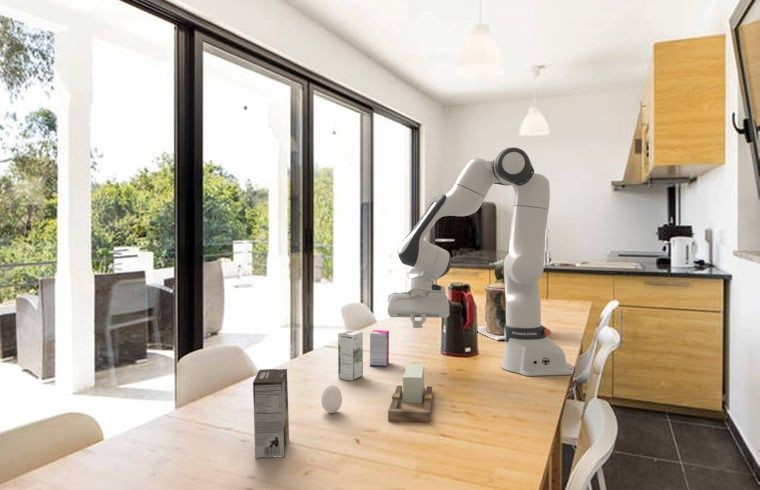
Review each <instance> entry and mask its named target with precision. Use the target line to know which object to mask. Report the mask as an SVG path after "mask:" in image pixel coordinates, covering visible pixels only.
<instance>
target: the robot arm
mask: <svg viewBox="0 0 760 490" xmlns="http://www.w3.org/2000/svg"><path fill="white" fill-rule="evenodd" d="M493 185H500V186H512V187H513V190H514V199H513V200H514V201H513V206H512V212H511V213H512V214H511V222H510V229H509V232H510V233H509V249H508V254H506V256H505V257H504V261H503V263H504V282H505V298H506V324H505V328H504V341H505V343H504V351H503V352H504V353H503V357H502V362H501V365H500V366H501V368H502V369H504V370H505V371H509V372H512V373H516V374H520V375H523V376H525V377H526V376H527V377H531V376H532V377H533V376H534V377H537V376H538V377H539V376H561V375H562V376H567V375H573V374H574V373H575V369H574V367H573V365H572V364H571V363H570V362H568V361H567V358H566V355H565V352H564V350H563V349H562V347H561V346H559V345H558V344H557V343H556V342H554V341H553V340H551V338H549V337H548V336H550V335H551V334H552V331H551V330H550V329H549V328H547V327H545V326H544V325H542V323H541V322H542V317H541V315H542V313H541V311H542V309H541V308H542V307H541V306H542V303H541V302H542V301H541V296H540V287H539V281H540V280H541V278H542V277H543V274H544V268H545V251H546V231H547V226H548V225H547V224H548V216H549V209H550V200H551V198H550V197H551V194H550V193H551V189H550V181H549V178H547V177H546V176H545V175H542V174H540V173H535V169H534V167H533V164H532V162H531V160H530V157H529V156H528V154H527V153H526V152H525V151H524V150H523V149H521V148H519V147H507V148H505V149H503V150H501V151H500V152H499V153H498V154H497V156H495V158H494V159H493V160H486V159H483V158H481V157H480V158H479V157H478V158H477V157H476V158H472V159H470V160H469V161H468V162H467V164H466V165H465V166H464V167H463V169H462V171H461V172H460V174H459V175H458V177H457V178H456V181H455V182H454V184H453V186H452V187H451V189H449V191H447V192H446V193H445V194H440V195H437V197H436V198H435V199H434V200H433V201H432V202H431V203H430V205H429V206H428V208H427V209H426V210H425V211H424V213H423V214H422V216H421V217H420V218H419V220H418V221H417V222H416V223H415V225H414V227H413V228H412V229H411V231H410V232H409V233H408V234H407V235H406V236H405V237H404V238H403V240H402V241H401V242H400V244H399V246H398V249H397V255H398V258H399V260H400V262H401V263H402V264H403V265H405V266H407V273H406V274H407V282H406V290H405V291H399V292H398V291H393V292H392V293H390V294H389V295H388V297H387V301H388V305H387V314H388V316H389V318H409V319H410V321H411V323H412V328H413V329H423V325H424V323H425V322H426V320H427V319H429V318H431V319H437V318H438V319H439V318H441V319H447V318H448V317H449V316H450V304H449V303H450V302H449V298H448V296H447V294H446V289H445V286H443V285H440V284H436V283H433V282H434V281H437V280H439V279H441V278H443V277H444V276H446V275H447V274H448V273H449V271H450V269H451V267H452V257H451V253H450V252H449V251H447V250H446V249H444V248H442V247H440V246H438V245H435V244H433V243H431V242H429V241H426V240H425V238H426V236H427V235H428V234H429V232H430V231H431V229H432V228H433V227H434V225H435V224H436V222H437V221H438V220H440V219H441V218H442V217H448V216H449V217H450V216H452V217H454V216H455V217H466V216H471V215H473V214H475V213H476V212H478V210H479V209H480V208H481V206H482V205H483V202H484V201H485V198H486V196H487V194H488V193H489V191H490V189H491V188H492V186H493ZM416 318H421V319H420V320H415V319H416Z"/></svg>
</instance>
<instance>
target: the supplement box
mask: <svg viewBox="0 0 760 490" xmlns="http://www.w3.org/2000/svg"><path fill="white" fill-rule="evenodd" d="M389 354H390V330H383V329H382V330H381V329H373V330H372V331H371V332H370V333H369V367H374V368H375V367H378V368H386V367H387V365H388V364H389V362H390V355H389Z"/></svg>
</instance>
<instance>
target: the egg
mask: <svg viewBox="0 0 760 490" xmlns="http://www.w3.org/2000/svg"><path fill="white" fill-rule="evenodd" d="M320 402H321V405H322V407H323V409H324V410H325V411H326V412H327V413H329V414H334V413H336V412H338V411H339V410H340V408H341V407H342V403H343V396H342V392H341V390H340V388H339V386H337V385H336V384H334V383H330V384H328V385H327V386H325V387H324V389H323V391H322V394H321V401H320Z"/></svg>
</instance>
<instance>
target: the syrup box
mask: <svg viewBox="0 0 760 490" xmlns="http://www.w3.org/2000/svg"><path fill="white" fill-rule="evenodd" d="M337 338H338V339H337V350H338V351H337V352H338V353H337V355H338V357H337V360H338V361H337V362H338V364H337V365H338V367H337V373H338V379H341V380H346V381H351V382H353V381H355V380H357V379H359V378H361V377H363V375H364V374H363V373H364V370H363V369H364V360H363V359H364V355H363V354H364V345H363V344H364V341H363V338H364V336H363V332H362V331H361V330H360V331H359V330H354V329H347V330H344V331H341V332H338V334H337Z"/></svg>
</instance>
